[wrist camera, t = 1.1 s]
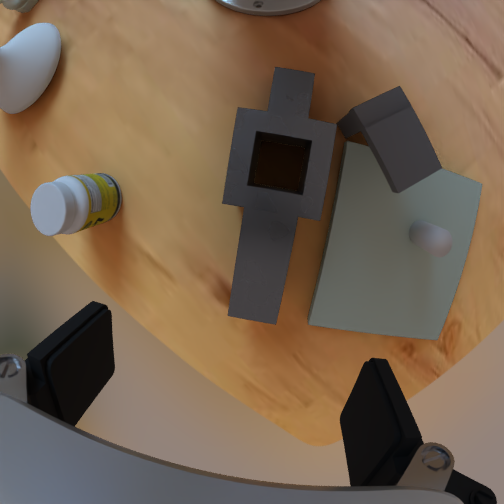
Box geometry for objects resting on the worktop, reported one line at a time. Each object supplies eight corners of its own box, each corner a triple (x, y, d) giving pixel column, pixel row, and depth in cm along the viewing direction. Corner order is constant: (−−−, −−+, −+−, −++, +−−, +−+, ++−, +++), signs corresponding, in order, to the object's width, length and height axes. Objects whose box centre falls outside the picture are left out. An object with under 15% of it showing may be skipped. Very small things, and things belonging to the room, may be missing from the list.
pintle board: (340, 94, 23) (357, 73, 17) (480, 143, 22) (519, 140, 16) (297, 317, 28) (300, 353, 22) (432, 334, 27) (458, 366, 21)
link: (255, 75, 23) (248, 49, 17) (330, 88, 22) (344, 65, 17) (222, 283, 28) (207, 311, 22) (292, 295, 27) (295, 327, 22)
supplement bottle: (87, 225, 27) (32, 244, 19) (80, 178, 26) (22, 185, 18) (127, 218, 27) (74, 237, 19) (120, 168, 26) (64, 170, 18)
